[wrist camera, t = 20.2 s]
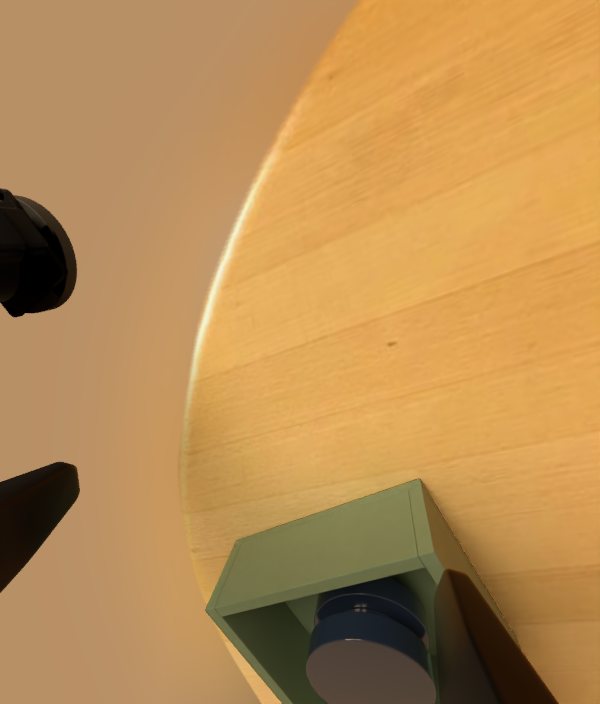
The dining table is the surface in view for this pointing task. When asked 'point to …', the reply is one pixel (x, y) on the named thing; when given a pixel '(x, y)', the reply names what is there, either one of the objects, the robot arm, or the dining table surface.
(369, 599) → the dark round disc
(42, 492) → the robot arm
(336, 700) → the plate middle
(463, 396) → the dining table surface
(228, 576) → the tub
